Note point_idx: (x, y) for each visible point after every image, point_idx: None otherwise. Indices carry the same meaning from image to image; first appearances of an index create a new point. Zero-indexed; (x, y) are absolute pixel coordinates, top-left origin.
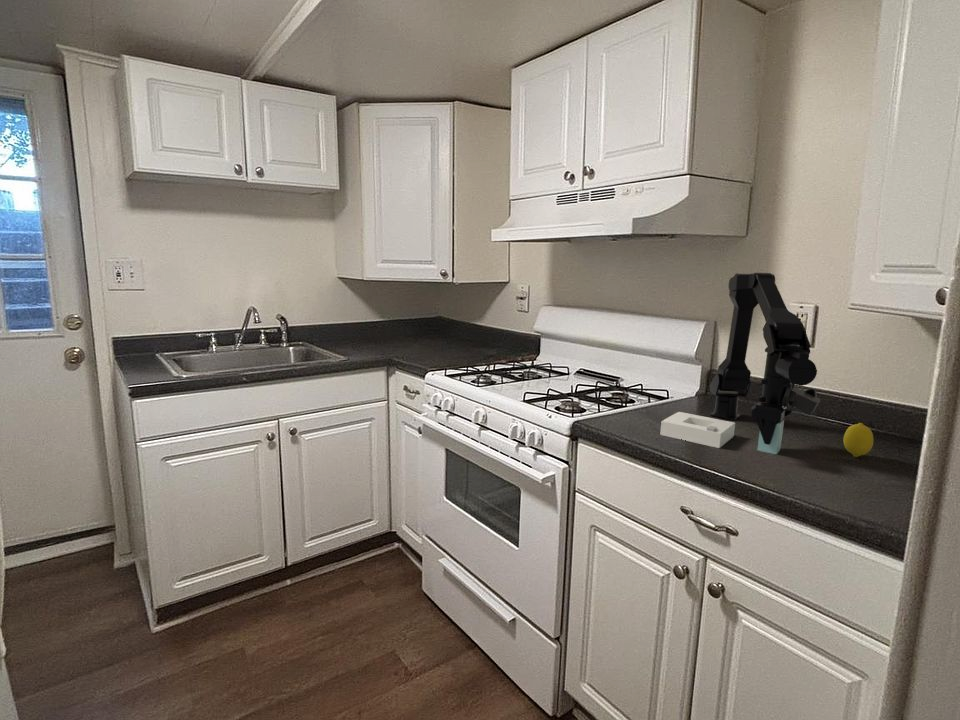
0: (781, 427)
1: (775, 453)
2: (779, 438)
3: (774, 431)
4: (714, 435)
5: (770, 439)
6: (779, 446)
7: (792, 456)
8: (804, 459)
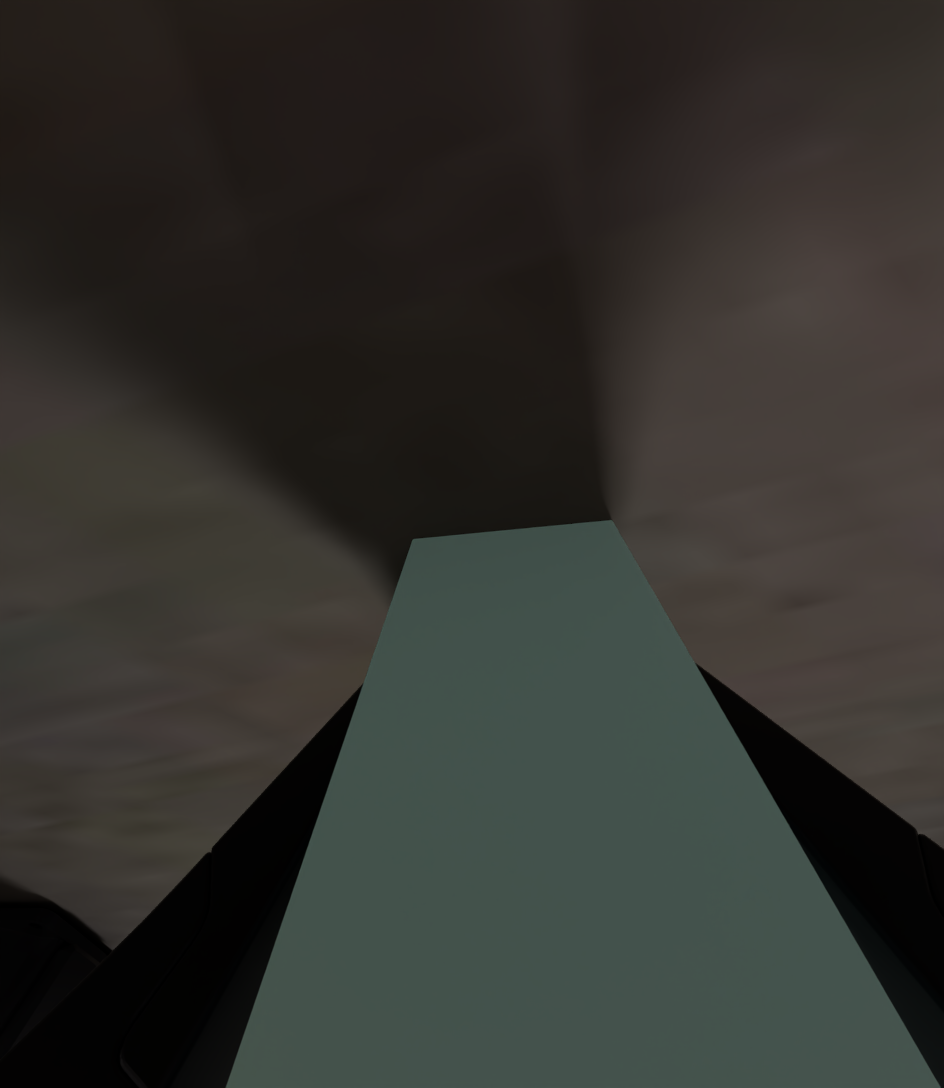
0: (557, 863)
1: (617, 532)
2: (578, 645)
3: (821, 838)
4: None
5: (746, 709)
6: (481, 564)
7: (545, 361)
8: (556, 171)
